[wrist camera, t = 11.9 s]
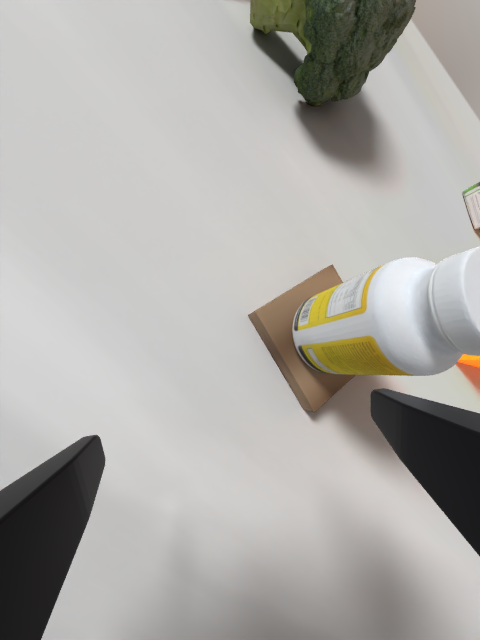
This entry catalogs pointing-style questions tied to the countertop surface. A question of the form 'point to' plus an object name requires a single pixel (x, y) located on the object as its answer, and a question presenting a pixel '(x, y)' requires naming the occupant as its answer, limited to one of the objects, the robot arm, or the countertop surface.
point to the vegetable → (335, 39)
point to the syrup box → (473, 204)
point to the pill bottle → (394, 319)
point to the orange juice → (470, 360)
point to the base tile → (278, 338)
